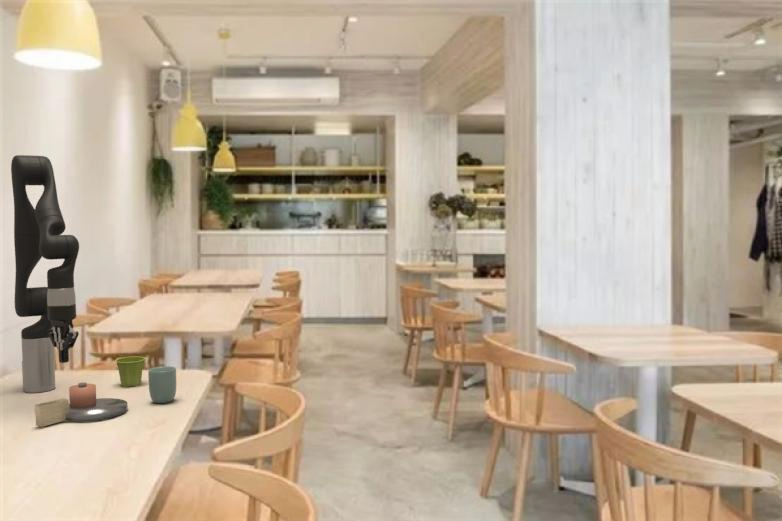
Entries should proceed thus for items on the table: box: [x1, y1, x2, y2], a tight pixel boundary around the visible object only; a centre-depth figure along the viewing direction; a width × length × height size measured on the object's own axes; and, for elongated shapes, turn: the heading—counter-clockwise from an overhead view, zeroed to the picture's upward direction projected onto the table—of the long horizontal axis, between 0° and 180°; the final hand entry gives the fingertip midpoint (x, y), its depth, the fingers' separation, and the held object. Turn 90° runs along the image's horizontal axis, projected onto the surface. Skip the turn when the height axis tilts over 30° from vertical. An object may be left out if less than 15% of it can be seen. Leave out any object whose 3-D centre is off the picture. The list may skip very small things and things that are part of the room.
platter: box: [34, 397, 128, 428], centre depth 196 cm, size 18×25×6 cm
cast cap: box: [68, 381, 97, 407], centre depth 201 cm, size 7×7×6 cm
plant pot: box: [114, 355, 146, 388], centre depth 233 cm, size 9×9×9 cm
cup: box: [147, 365, 177, 404], centre depth 211 cm, size 8×8×10 cm
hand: (64, 362), depth 206 cm, fingers closed
